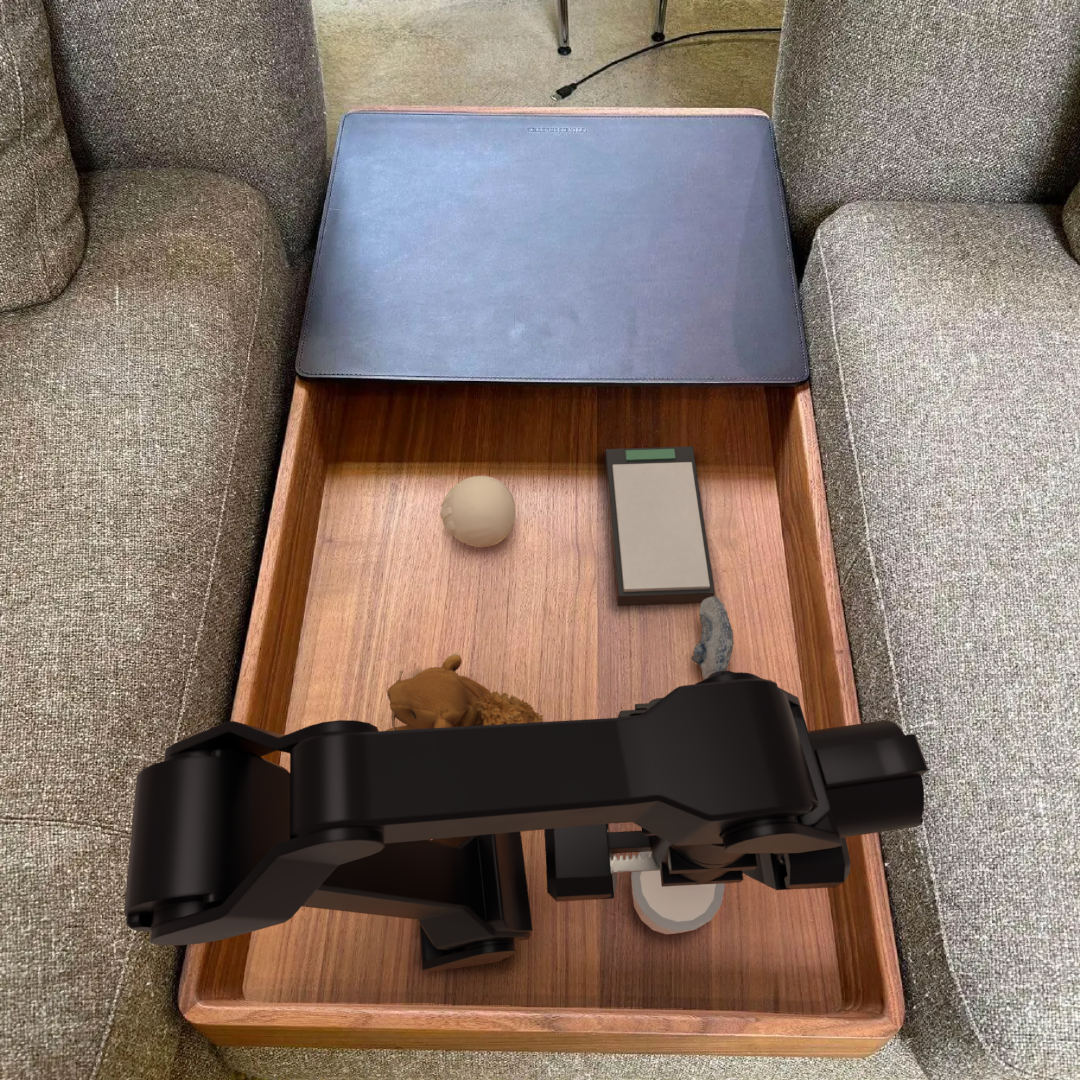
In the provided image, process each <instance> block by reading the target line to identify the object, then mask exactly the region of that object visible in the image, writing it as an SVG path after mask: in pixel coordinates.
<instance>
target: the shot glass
mask: <svg viewBox="0 0 1080 1080" xmlns="http://www.w3.org/2000/svg"><path fill="white" fill-rule="evenodd" d="M646 853H647V855H648V857H649V858H650V857H651V853H652V852H638V853H637V855H636V859H638V855H639V854H641V856H642V858H644V856H645V854H646ZM630 879H631V895H632V903H633V908H634V910H635V912H636V913H637V915H638V918H639V919H640V921H641V922H643V923H644V924H645V925H646V926H647V927H648V928H650V930H652V931H654V932H657V933H660V934H664V935H672V934H673V935H674V934H681V933H682V934H683V933H686V932H692V931H695V930H696V931H697V929H699V928H702V926H704V925H706V924H707V923H709V922H710V921H712V920H713V918H714V917H715V915H716V914H717V912H718V911H719V910H720V908H721V906H722V905H723V899H724V894H725V889H726V883H722V884H702V885H683V886H663V887H662V885H661V876H660V871H642V872H631V874H630Z"/></svg>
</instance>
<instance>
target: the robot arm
mask: <svg viewBox="0 0 1080 1080" xmlns="http://www.w3.org/2000/svg"><path fill="white" fill-rule="evenodd" d="M800 702H801V701H800V698H799V697H798V696H796V695H795V694H792V693H791V692H789V691H787V690H785V689H783V688H781V687H779V686H778V683H777V682H775V681H774V680H771V679H765V678H762V677H760V676H758V675H756V674H753V673H750V672H743V671H742V672H741V671H739V672H738V671H737V672H735V671H731V670H727V671H726V670H725V671H718V672H715V673H712V674H710V675H709V676H708V678H707V679H705V680H704V679H703V680H701V681H700V680H699V681H698V682H696V683H694V684H687V685H681V686H677V687H675V688H674V689H673V690H672V691H670V692H669V693H668V694H666V695H665V696H664V697H656V698H653V699H651V700H649V702H648V703H647V702H646V703H635V704H634V709H627V710H620V711H619V712H618V714H617V715H618V716H617V717H608V718H590V719H587V718H586V719H573V720H572V719H571V720H555V721H554V720H553V721H552V720H551V721H543V722H534V723H516V724H499V725H481V726H463V727H446V728H428V729H410V730H393V731H386V730H379V728H378V727H377V726H376V725H374V724H372V723H370V722H366V721H361V720H355V719H354V720H352V719H350V720H347V719H342V720H341V719H338V720H330V721H329V720H328V721H322V722H318V723H315V724H312V725H311V724H310V725H308V726H305V727H302V728H300V729H298V730H296V731H292V732H290V733H287V734H283V733H280V732H276V731H272V730H269V729H265V728H262V727H258V726H253V725H251V724H246V723H242V722H239V721H235V720H229V721H225V722H223V723H221V724H218V725H216V726H213V727H211V728H208V729H206V730H204V731H201V732H199V733H195V734H193V735H192V736H189V737H187V738H184V739H182V740H179V741H177V742H175V743H172V744H171V745H169V746H167V747H166V748H165V751H164V758H163V761H160V762H155V763H153V764H151V765H148V766H146V767H144V768H142V769H141V770H140V771H139V772H138V773H137V774H136V779H135V780H136V781H135V791H134V802H133V811H132V812H133V813H132V824H131V833H130V845H129V855H128V866H127V874H126V876H127V877H126V878H127V879H126V887H125V898H124V908H123V913H124V916H125V917H126V920H125V924H126V926H127V927H128V928H129V929H130V930H133V931H137V932H143V933H150V934H149V943H150V944H153V945H155V946H189V945H199V944H200V945H201V944H205V943H213V942H214V943H215V942H217V941H222V940H226V939H230V938H234V937H238V936H241V935H245V934H249V933H252V932H256V931H259V930H263V929H266V928H267V929H268V928H270V927H274V926H277V925H281V924H284V923H286V922H288V921H289V920H291V919H293V917H294V916H295V915H296V914H297V912H298V911H299V910H300V909H301V908H302V907H303V908H311V909H312V908H314V909H320V910H321V909H322V910H329V911H340V912H347V913H355V914H356V913H358V914H364V915H365V914H366V915H373V916H381V917H391V918H400V919H409V920H416V921H418V930H419V944H420V946H419V947H420V960H421V971H422V972H442V971H447V970H454V969H461V968H467V967H475V966H480V965H487V964H493V963H498V962H504V961H506V960H507V959H508V958H509V957H510V956H513V955H515V954H516V953H517V946H516V944H517V943H516V941H526V940H529V939H530V937H531V936H532V933H531V932H533V931H534V929H533V928H534V927H533V921H532V912H531V906H530V904H531V903H530V896H529V889H528V879H527V873H526V863H525V857H524V848H523V847H524V846H523V840H522V832H529V831H541V830H543V832H544V849H545V851H544V853H545V872H546V891H547V892H546V893H547V894H548V895H549V896H550V897H551V898H552V899H553V900H554V901H555V902H578V901H595V900H598V901H599V900H612V899H615V895H616V889H617V884H618V873H620V874H621V873H632V872H642V871H660V876H661V885H662V887H663V886H683V885H702V884H722V883H725V884H740V883H742V882H743V881H744V875H745V876H746V877H749V878H750V879H752V880H755V881H757V882H759V883H761V884H763V885H765V886H767V887H769V888H770V889H773V890H776V891H789V890H811V889H813V890H814V889H829V888H830V889H832V888H833V889H834V888H837V887H839V886H841V885H842V884H843V883H845V882H846V880H847V879H848V877H849V875H851V874H850V873H851V863H852V862H851V857H850V852H849V847H848V843H847V839H846V838H850V837H857V836H864V835H870V834H876V833H877V834H878V833H883V832H891V831H897V830H898V831H899V830H904V829H910V828H917V827H920V826H921V825H922V824H923V823H924V818H923V815H924V808H925V790H924V783H923V775H924V774H926V773H927V772H928V771H929V767H928V765H927V761H926V759H925V756H924V754H923V750H922V748H921V746H920V743H919V740H918V738H917V735H916V734H914V733H912V734H911V733H910V734H905V732H904V731H903V730H902V728H901V727H900V726H899V725H898V724H897V723H896V722H893V721H891V720H888V719H887V720H885V719H884V720H878V721H877V720H876V721H869V722H862V723H856V724H855V723H854V724H848V725H841V726H833V727H827V728H820V729H814V730H809V729H808V726H807V722H806V719H805V717H804V713H803V709H802V707H801V706H802V705H801V703H800ZM277 751H279V752H281V753H282V752H283V753H285V754H289V771H288V769H287V768H285V767H284V766H281V765H279V764H277V763H275V762H274V761H271V760H269V759H266V758H264V756H267V755H270V754H273V753H275V752H277ZM629 823H630V824H635V825H637V826H638V827H640V829H641V830H626V831H611V829H610V824H629ZM640 852H652V853H651V857H650V858H649V857H648V855H647V853H646V854H645V856H644V858H642V856H641V854H639V853H640ZM628 853H629V854H630V853H632V855H631V858H630V856H629V854H628ZM635 853H638V854H639V855H638V854H637V855H638V859H636V857H637V855H636V854H635ZM616 854H620V855H619V857H617V855H616ZM623 854H625V858H624V855H623Z"/></svg>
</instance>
